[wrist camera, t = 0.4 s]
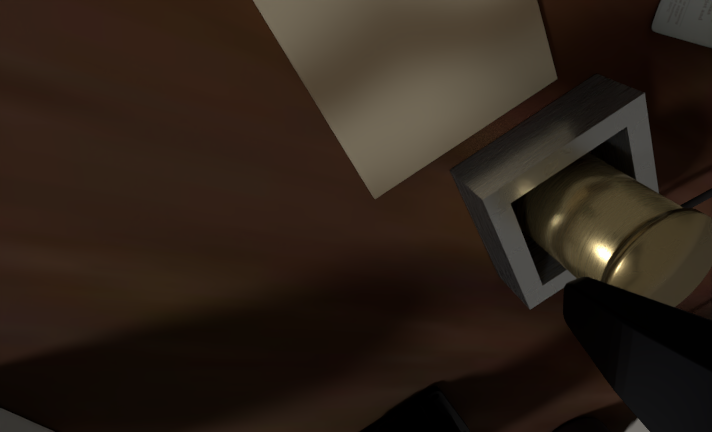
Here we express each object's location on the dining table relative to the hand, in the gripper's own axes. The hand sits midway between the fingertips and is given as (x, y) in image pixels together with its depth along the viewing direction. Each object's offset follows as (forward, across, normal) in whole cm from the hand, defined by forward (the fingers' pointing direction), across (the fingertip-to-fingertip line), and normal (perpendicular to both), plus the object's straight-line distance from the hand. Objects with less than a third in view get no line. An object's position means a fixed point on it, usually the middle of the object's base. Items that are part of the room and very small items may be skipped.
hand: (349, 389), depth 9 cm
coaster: (+14, -8, -1) cm, 16 cm away
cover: (+14, -14, +8) cm, 21 cm away
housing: (+14, -14, +8) cm, 21 cm away
